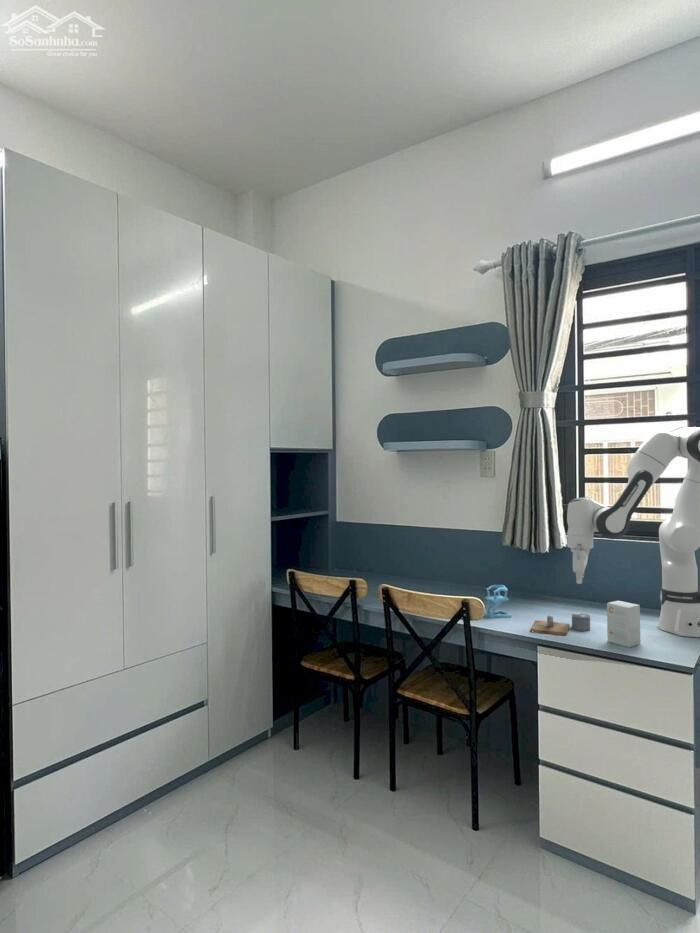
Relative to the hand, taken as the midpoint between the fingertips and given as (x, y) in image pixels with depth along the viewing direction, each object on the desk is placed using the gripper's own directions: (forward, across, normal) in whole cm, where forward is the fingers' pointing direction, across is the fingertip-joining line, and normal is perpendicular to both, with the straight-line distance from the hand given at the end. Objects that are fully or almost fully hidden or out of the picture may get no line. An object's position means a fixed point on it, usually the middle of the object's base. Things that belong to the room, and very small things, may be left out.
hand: (580, 580), depth 211 cm
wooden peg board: (+17, -5, +10) cm, 20 cm away
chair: (+18, +6, +31) cm, 36 cm away
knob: (+17, 0, 0) cm, 17 cm away
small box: (+17, -12, -14) cm, 25 cm away
